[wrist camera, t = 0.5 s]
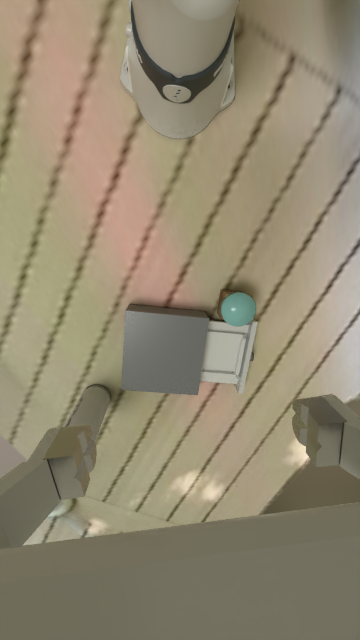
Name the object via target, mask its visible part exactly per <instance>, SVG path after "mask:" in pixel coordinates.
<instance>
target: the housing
mask: <svg viewBox="0 0 360 640" xmlns="http://www.w3.org/2000/svg"><path fill="white" fill-rule="evenodd" d="M208 325H209V317H207V315H206V312H205V311H195V310H185V309H174V308H164V307H154V306H144V305H133V304H129V306H128V307H127V309H126V310H125V329H124V348H123V367H122V386H121V390H131V391H146V392H160V393H174V394H188V395H198V390H199V384H200V377H201V371H202V364H203V357H204V351H205V344H206V338H207V331H208Z"/></svg>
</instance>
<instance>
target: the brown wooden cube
mask: <svg viewBox="0 0 360 640" xmlns="http://www.w3.org/2000/svg"><path fill="white" fill-rule="evenodd" d="M233 292H240V291H230V290H221V291H220V297H219V304H218V310H217V313H218V315H219V316H220V317H221V319H223V317H222V315H221V312H220V306H221V303H222V301H223V299H224V298H225V297H226V296H227V295H229V294H230V293H233ZM243 293H245V292H243ZM245 294H247V293H245ZM247 295H248V294H247ZM249 296H250V295H249ZM250 297H251V296H250ZM251 298H252V297H251ZM223 320H224V319H223Z"/></svg>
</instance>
